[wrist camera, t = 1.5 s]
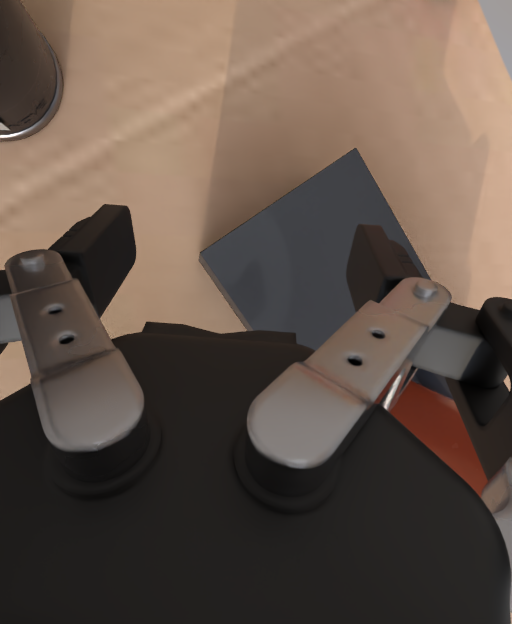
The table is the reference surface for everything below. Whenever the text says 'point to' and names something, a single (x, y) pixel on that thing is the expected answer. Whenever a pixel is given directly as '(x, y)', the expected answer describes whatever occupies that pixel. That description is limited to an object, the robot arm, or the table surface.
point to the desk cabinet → (302, 253)
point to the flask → (440, 430)
